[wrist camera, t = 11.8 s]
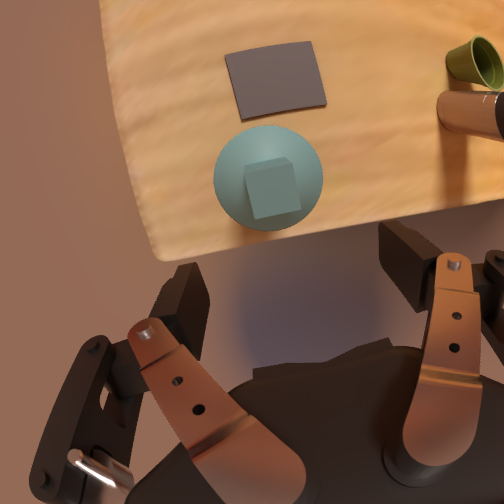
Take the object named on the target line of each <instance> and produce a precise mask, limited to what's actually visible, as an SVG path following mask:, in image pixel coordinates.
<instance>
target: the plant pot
mask: <svg viewBox="0 0 504 504" xmlns="http://www.w3.org/2000/svg"><path fill="white" fill-rule="evenodd" d="M446 63H447V67H448V69H449V71H450V72H451V73H452V74H453V76H454V77H455V78H456V79H458V80H460V81H466V82H471V83H475V84H480V85H483V86H485V87H488V88H490V89H491V90H493V91H496V92H498V91H501V90H502V89H503V87H504V65H503V62H502V60H501V57H500V55H499V53H498V51H497V50H496V48H495V47H494V46H493V44H492V43H491V42H490V41H489V40H488V39H486V38H485V37H483V36H480V35H476V36H474V37H473V38H472V40H471V41H469V42H468V43H467V44H464V45H462V46H460V47H458V48H456V49H454V50H451V51H449V52H448V54H447V56H446Z"/></svg>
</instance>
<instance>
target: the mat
mask: <svg viewBox="0 0 504 504" xmlns="http://www.w3.org/2000/svg"><path fill="white" fill-rule="evenodd" d="M225 58H226V62H227V65H228V69H229V73H230V77H231V80H232V84H233V88H234V92H235V96H236V99H237V103H238V107H239V111H240V115H241V119H246V118H250V117H255V116H260V115H264V114H269V113H275V112H280V111H286V110H291V109H298V108H304V107H311V106H319V105H326V104H327V101H326V97H325V93H324V88H323V84H322V80H321V76H320V73H319V69H318V65H317V61H316V58H315V54H314V51H313V47H312V44H311V41H306V42H296V43H287V44H280V45H273V46H266V47H260V48H255V49H250V50H245V51H240V52H235V53H231V54H227V55H225Z"/></svg>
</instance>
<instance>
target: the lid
mask: <svg viewBox="0 0 504 504" xmlns="http://www.w3.org/2000/svg"><path fill="white" fill-rule="evenodd" d="M322 185H323V172H322V166H321V162H320V160H319V157H318V155H317V153H316V152H315V150H314V149H313V147H312V146H311V145H310V144H309V142H308V141H307V140H306V139H304V138H303V137H302V136H300V135H299V134H297V133H296V132H294V131H292V130H289V129H287V128H283V127H279V126H258V127H254V128H250V129H248V130H245V131H243V132H241V133H240V134H238V135H236V136H235V137H234V138H233V139H231V140H230V141H229V142H228V143H227V145H226V146H225V147H224V148H223V150H222V151H221V153H220V155H219V157H218V159H217V162H216V165H215V170H214V188H215V193H216V195H217V198H218V200H219V202H220V204H221V206H222V207H223V209H224V210H225V212H226V213H227V214H228V215H229V216H230V217H231V218H233V219H234V220H235V221H236V222H238V223H240V224H241V225H243V226H245V227H248V228H251V229H254V230H259V231H277V230H282V229H286V228H288V227H291V226H293V225H295V224H297V223H298V222H300V221H301V220H302V219H304V218H305V217H306V216H307V215H308V214H309V213H310V212H311V211H312V209H313V208H314V206H315V205H316V203H317V201H318V199H319V197H320V194H321V190H322Z"/></svg>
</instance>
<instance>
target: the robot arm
mask: <svg viewBox="0 0 504 504" xmlns="http://www.w3.org/2000/svg"><path fill="white" fill-rule="evenodd" d="M437 112H438V116H439V118H440V121H441V122H442V124H443V125H444V127H445V128H446V129H448V130H449V131H452V132H457V133H463V134H468V135H473V136H478V137H482V138H487V139H491V140H495V141H499V142H503V143H504V92H495V91H445V92H443V93H442V94H441V95H440V96H439V98H438V101H437ZM378 233H379V260H380V263H381V266H382V268H383V269H384V271H385V272H386V273H387V274H388V276H389V277H390V278H391V280H392V281H393V282H394V283H395V285H396V286H397V287H398V289H399V290H400V291H401V292H402V294H403V295H404V297H405V298H406V299H407V301H408V302H409V303H410V305H411V306H412V307H413V309H414V310H415V312H416V313H419V312H422V311H425V310H428V312H429V313H428V317H427V322H426V327H425V332H424V337H423V341H422V346H421V349H419V348H415V347H408V346H392V344H391V342H390V340H389V338H384V339H381V340H378V341H375V342H371V343H368V344H365V345H361V346H357V347H355V348H353V349H351V350H349V351H348V352H345V353H343V354H341V355H339V356H337V357H335V358H333V359H331V360H329V361H326V362H322V363H284V364H279V365H273V366H267V367H261V368H255V369H253V379H252V380H249V381H247V382H244V383H242V384H241V385H239V386H237V387H235V388H234V389H232V390H231V391H229V392H228V393H227V392H226V391H225V390H224V389H223V388H222V387H221V386H220V385H219V384H218V383H217V382H216V381H215V380H214V379H213V378H212V376H211V375H210V374H209V373H208V372H207V371H206V370H205V369H204V368H203V366H202V365H201V364H200V363H199V362H198V361H200V357H201V352H202V346H203V340H204V335H205V329H206V324H207V318H208V313H209V307H210V299H209V294H208V291H207V288H206V285H205V283H204V280H203V277H202V275H201V272H200V270H199V267H198V265H197V263H196V262H193V263H188V264H184V265H179V266H178V268H177V270H176V272H175V275H174V277H173V278H170V279H169V280H168V281H167V282H166V283H165V284H164V285H163V286H162V288H161V291H160V293H159V295H158V297H157V301H155V304H154V306H153V308H152V310H151V313H150V315H149V317H148V318H146V319H143V320H141V321H139V322H138V323H136V324H135V325H134V326H133V327H132V328H131V329H130V330H129V332H128V335H127V338H128V339H126V340H123V341H120V342H117V343H114V344H111V342H110V341H109V339H108V338H107V337H106V336H104V335H98V336H95V337H93V338H91V339H89V340H88V341H86V342H85V343H84V344H83V346H82V347H81V349H80V351H79V353H78V354H77V356H76V358H75V361H74V363H73V365H72V367H71V369H70V371H69V373H68V375H67V378H66V379H65V381H64V383H63V386H62V388H61V390H60V392H59V395H58V397H57V399H56V402H55V404H54V406H53V409H52V411H51V414H50V416H49V419H48V421H47V424H46V427H45V429H44V432H43V435H42V438H41V440H40V443H39V446H38V449H37V452H36V455H35V458H34V462H33V465H32V468H31V472H30V476H29V486H30V489H31V492H32V493H33V495H34V496H35V497H36V498H37V499H38V500H40V501H42V502H44V503H46V504H504V384H501V383H499V382H497V381H494V380H492V379H490V378H487V377H485V376H483V375H480V357H481V332H482V334H483V335H484V336H485V338H486V339H487V341H488V342H489V344H490V345H491V347H492V348H493V350H494V351H495V353H496V355H497V356H498V358H499V359H500V361H501V363H502V364H503V366H504V309H503V308H502V306H503V303H504V251H500V250H490V251H488V252H487V253H486V256H485V261H484V263H482V264H471V263H470V261H469V259H468V258H466V257H465V256H463V255H461V254H458V253H443V252H442V251H441V250H440V249H438V248H437V247H436V246H435V245H434V244H432V243H431V242H429V240H427V239H426V238H424V237H423V236H422V235H421V234H420V233H419V232H417V231H415V230H412V229H410V228H406V227H405V226H404V225H402V224H401V223H400V222H399V221H397V220H396V219H394V220H389V221H385V222H381V223H379V226H378ZM103 387H105V388H106V389H107V390H108V391H109V393H108V396H107V400H106V403H105V406H104V409H103V410H102V408H101V406H100V395H101V392H102V389H103ZM147 391H151V393H152V395H153V396H154V398H155V400H156V402H157V403H158V405H159V407H160V409H161V410H162V412H163V414H164V415H165V417H166V419H167V420H168V422H169V423H170V425H171V427H172V428H173V430H174V431H175V433H176V435H177V436H178V438H179V439H180V441H181V442H180V443H179V444H178V445H177V446H176V447H175V448H174V449H173V450H172V451H171V452H170V453H169V454H168V455H167V456H166V457H165V458H164V459H163V460H162V461H161V462H160V463H159V464H157V465H156V466H155V467H154V468H153V469H152V470H151V471H150V472H149V473H148V474H147V475H146V476H145V477H144V478H143V479H141V480H140V481H139V482H138V483H137V484H135V483H134V478H133V474H132V472H131V471H130V470H129V464H130V457H131V452H132V447H133V441H134V436H135V431H136V426H137V421H138V417H139V412H140V407H141V403H142V399H143V394H144V392H147Z"/></svg>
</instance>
